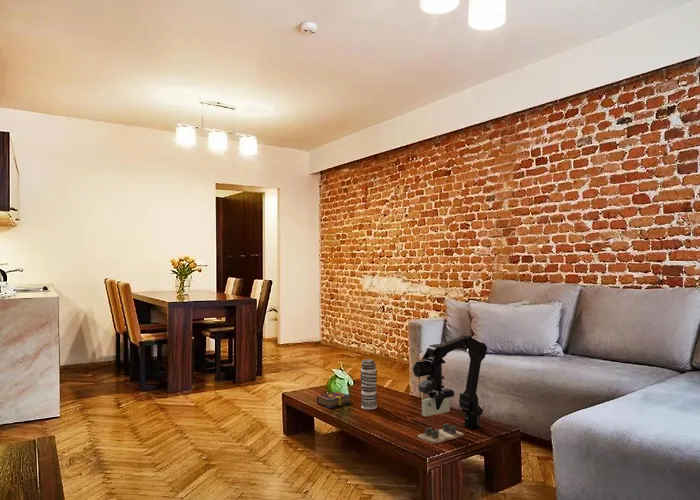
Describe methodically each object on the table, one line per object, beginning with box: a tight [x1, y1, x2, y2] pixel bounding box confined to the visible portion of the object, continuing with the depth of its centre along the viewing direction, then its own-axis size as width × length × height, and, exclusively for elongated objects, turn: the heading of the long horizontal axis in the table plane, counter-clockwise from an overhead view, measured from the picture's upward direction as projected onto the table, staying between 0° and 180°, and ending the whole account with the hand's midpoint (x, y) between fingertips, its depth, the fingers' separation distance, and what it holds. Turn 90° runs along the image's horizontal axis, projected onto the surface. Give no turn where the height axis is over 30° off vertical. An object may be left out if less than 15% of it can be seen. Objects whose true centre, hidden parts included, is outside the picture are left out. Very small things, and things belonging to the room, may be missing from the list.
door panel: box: [421, 397, 451, 417], centre depth 225 cm, size 14×3×7 cm, turn 119°
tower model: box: [359, 358, 378, 410], centre depth 269 cm, size 9×9×25 cm
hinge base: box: [417, 422, 465, 445], centre depth 223 cm, size 18×10×4 cm, turn 121°
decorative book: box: [316, 391, 351, 409], centre depth 278 cm, size 11×16×5 cm
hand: (436, 408), depth 225 cm, fingers closed on door panel, 2 cm apart
